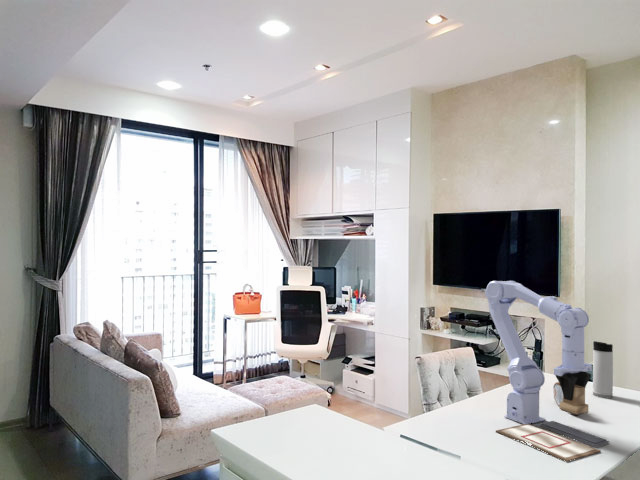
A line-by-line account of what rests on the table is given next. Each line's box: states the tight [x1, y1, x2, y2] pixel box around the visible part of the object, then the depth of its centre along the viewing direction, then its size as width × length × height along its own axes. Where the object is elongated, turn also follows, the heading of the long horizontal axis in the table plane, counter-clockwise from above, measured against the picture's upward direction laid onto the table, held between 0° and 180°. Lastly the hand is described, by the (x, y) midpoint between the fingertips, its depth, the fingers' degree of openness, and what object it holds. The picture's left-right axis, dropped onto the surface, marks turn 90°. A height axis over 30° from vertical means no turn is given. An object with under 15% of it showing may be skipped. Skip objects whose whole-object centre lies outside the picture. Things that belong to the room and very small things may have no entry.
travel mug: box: [592, 340, 614, 399], centre depth 176 cm, size 6×7×20 cm
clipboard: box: [495, 424, 602, 462], centre depth 131 cm, size 14×22×1 cm, turn 28°
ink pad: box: [539, 420, 610, 449], centre depth 136 cm, size 6×17×1 cm, turn 28°
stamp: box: [559, 385, 589, 416], centre depth 136 cm, size 5×5×7 cm
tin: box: [553, 381, 573, 415], centre depth 159 cm, size 15×3×8 cm, turn 179°
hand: (573, 398), depth 136 cm, fingers closed on stamp, 4 cm apart
